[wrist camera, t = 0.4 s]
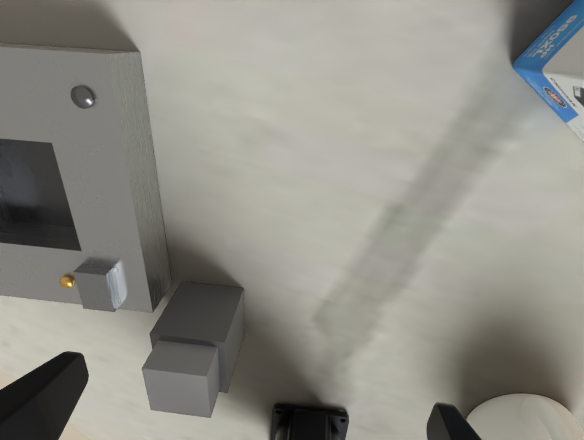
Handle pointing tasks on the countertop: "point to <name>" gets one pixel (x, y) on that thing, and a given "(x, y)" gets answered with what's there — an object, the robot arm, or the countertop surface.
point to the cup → (524, 419)
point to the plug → (194, 348)
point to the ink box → (559, 66)
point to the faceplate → (79, 180)
